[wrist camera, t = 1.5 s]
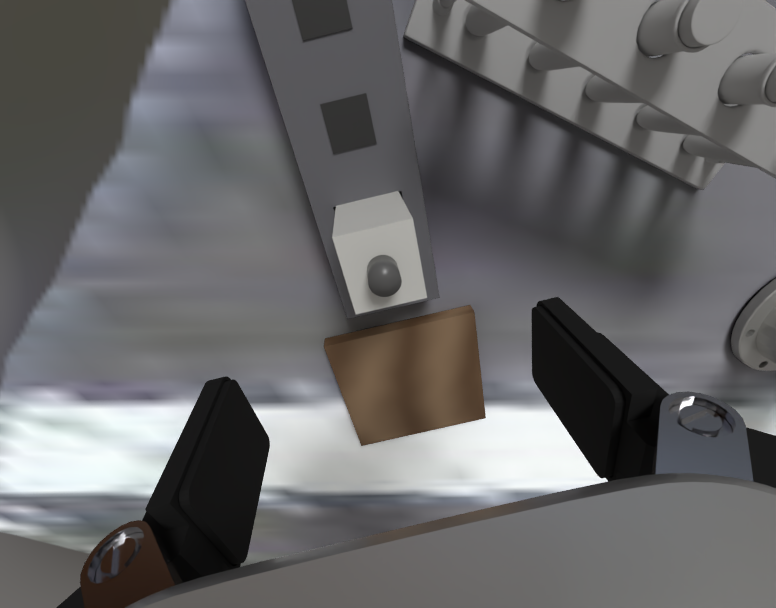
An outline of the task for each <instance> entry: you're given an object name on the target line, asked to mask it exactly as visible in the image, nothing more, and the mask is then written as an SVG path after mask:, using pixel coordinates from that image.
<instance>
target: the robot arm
mask: <svg viewBox="0 0 776 608" xmlns="http://www.w3.org/2000/svg"><path fill="white" fill-rule="evenodd" d="M731 347H732V351H733V353H734V355H735V356H736V357H737V358H738V359H739V360H740V361H741V362H743V363H744V364H746V365H747V366H749V367H750V368H753V369H756V370H761V371H775V370H776V278H775V279H774V280H773V281H771V282H770V283H769V284H768V285H767V286H765V287H764V288H763V289H762V290H761V291H760V292H759V293H758V294H757V295H756V296H755V297H754V298H753V299H752V300H751V301H750V302H749V303H748V305H747V306H746V307H745V308H744V310H743V311H742V313H741V314H740V316H739V318H738V319H737V321H736V323H735V326H734V329H733V331H732V337H731ZM532 375H533V379H534V381H535V383H536V385H537V387H538V388H539V389H540V391H541V392H542V394H543V395H544V397H545V398H546V400H547V401H548V403H549V404H550V406H551V407H552V409H553V410H554V412H555V413H556V415H557V416H558V418H559V419H560V421H561V422H562V424H563V425H564V426H565V428H566V429H567V431H568V432H569V434H570V435H571V437H572V438H573V440H574V441H575V443H576V444H577V446H578V447H579V449H580V450H581V452H582V453H583V455H584V456H585V458H586V459H587V460H588V462H589V463H590V465H591V466H592V468H593V469H594V471H595V472H596V474H597V475H598V476H599V477H600V478H606V479H607V480H608V482H604V483H599V484H595V485H590V486H585V487H580V488H576V489H571V490H566V491H561V492H557V493H552V494H548V495H543V496H539V497H535V498H530V499H526V500H521V501H517V502H513V503H508V504H504V505H500V506H495V507H491V508H486V509H482V510H478V511H473V512H469V513H465V514H460V515H456V516H452V517H447V518H443V519H439V520H435V521H430V522H426V523H422V524H417V525H413V526H409V527H405V528H400V529H396V530H392V531H388V532H383V533H379V534H375V535H371V536H366V537H362V538H358V539H354V540H349V541H345V542H341V543H337V544H333V545H329V546H324V547H320V548H316V549H312V550H308V551H304V552H300V553H295V554H291V555H287V556H283V557H279V558H275V559H270V560H266V561H262V562H258V563H254V564H250V565H246V566H243V567H240V564H241V563H243V562H244V561H245V560H246V558H247V554H248V549H249V544H250V539H251V535H252V530H253V525H254V520H255V515H256V510H257V506H258V501H259V496H260V491H261V486H262V481H263V477H264V472H265V467H266V462H267V457H268V452H269V447H270V442H269V437H268V435H267V433H266V431H265V430H264V428H263V426H262V425H261V423H260V421H259V419H258V418H257V416H256V414H255V412H254V411H253V409H252V407H251V405H250V404H249V402H248V400H247V398H246V397H245V395H244V393H243V391H242V390H241V388H240V386H239V384H238V383H237V381H236V380H231V379H230V378H229V377H222V378H218V379H213V380H209V381H207V382H206V383H205V385H204V387H203V389H202V391H201V394H200V396H199V398H198V400H197V402H196V404H195V406H194V408H193V410H192V412H191V415H190V417H189V419H188V421H187V423H186V425H185V427H184V429H183V431H182V433H181V435H180V438H179V440H178V442H177V444H176V446H175V448H174V450H173V452H172V454H171V456H170V459H169V461H168V463H167V465H166V467H165V469H164V471H163V473H162V475H161V477H160V480H159V482H158V484H157V486H156V488H155V490H154V492H153V494H152V496H151V498H150V500H149V503H148V505H147V507H146V509H145V510H146V513H145V516H144V518H143V520H142V521H141V520H137V521H131V522H128V523H126V524H124V525H121V526H120V527H118V528H117V529H115V530H113V531H112V532H110V533H109V534H108V535H107V536H106V537H105V538H104V539H103V540H101V541H100V542H99V544H98V545H97V546H96V547H95V548H94V549H93V551H92V552H91V553H90V555H89V556H88V558H87V560H86V561H85V563H84V566H83V568H82V571H81V574H80V586H81V587H80V588H79V589H77V590H76V591H75V592H74V593H73V594H72V595H70V596H69V597H68V598H67V599H66V600H65V601H64V602H63V603H61V604H60V605H59V606H58V607H57V608H776V436H774V435H771V434H767V433H764V432H760V431H757V430H753V429H750V428H746V426H745V423H744V421H743V418H742V417H741V416H740V415H739V414H738V413H737V411H736V410H735V409H733V408H732V407H730V406H729V405H728V404H726V403H725V402H722V401H720V400H718V399H716V398H714V397H711V396H708V395H705V394H701V393H695V392H676V393H673V394H670V395H669V394H668V393H667V392H665V391H664V390H663V389H662V388H661V387H660V386H659V385H658V384H657V383H656V382H654V381H653V380H652V379H651V378H650V377H649V376H648V375H647V374H646V373H645V372H643V371H642V370H641V369H640V368H639V367H638V366H637V365H636V364H635V363H634V362H632V361H631V360H630V359H629V358H628V357H627V356H626V355H625V354H624V353H623V352H621V351H620V350H619V349H618V348H617V347H616V346H615V345H614V344H613V343H612V342H610V341H609V340H608V339H607V338H606V337H605V336H604V335H602V334H601V333H598V332H596V331H595V330H594V329H592V328H591V327H590V326H589V325H588V324H587V323H586V322H585V321H584V320H583V319H582V318H581V317H579V316H578V315H577V314H576V313H575V312H574V311H573V310H572V309H571V308H570V307H569V306H568V305H566V304H565V303H564V302H563V301H562V300H561V299H560V298H558V297H555V298H551V299H547V300H543V301H539V302H538V303H537V307H534V308H532Z"/></svg>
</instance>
